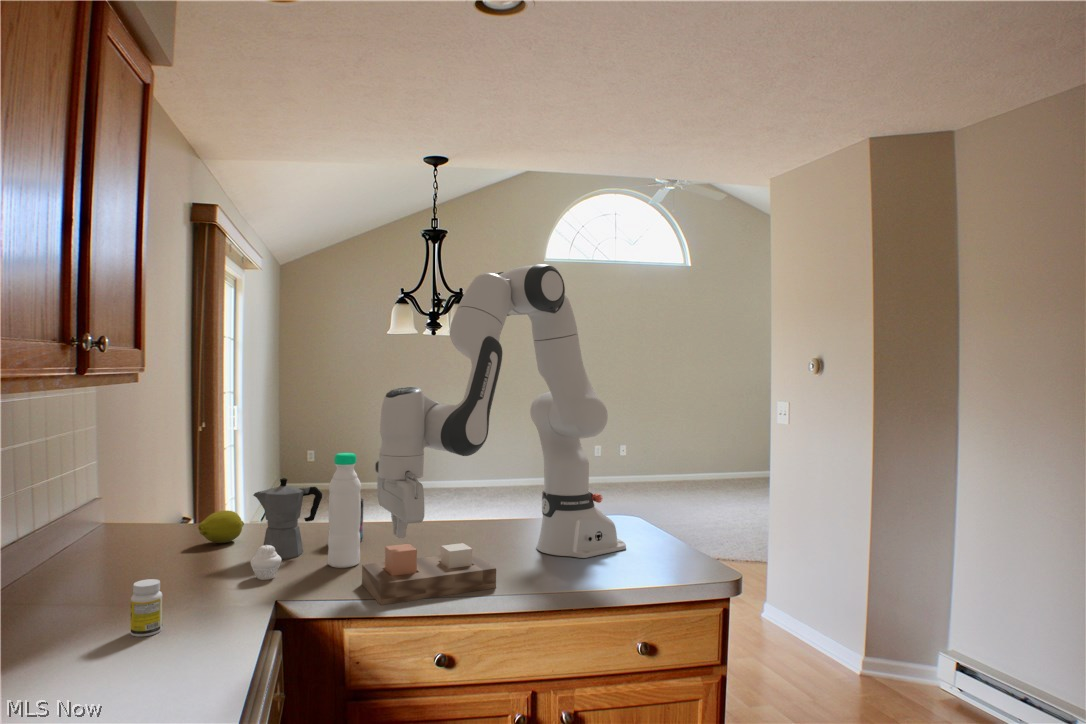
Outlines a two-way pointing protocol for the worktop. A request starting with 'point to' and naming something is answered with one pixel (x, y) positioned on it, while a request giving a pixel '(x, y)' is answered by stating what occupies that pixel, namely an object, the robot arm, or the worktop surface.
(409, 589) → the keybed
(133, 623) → the supplement bottle
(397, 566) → the terracotta key
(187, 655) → the worktop surface
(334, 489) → the water bottle
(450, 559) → the cream key
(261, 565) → the muffin
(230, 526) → the lemon
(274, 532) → the coffeepot
